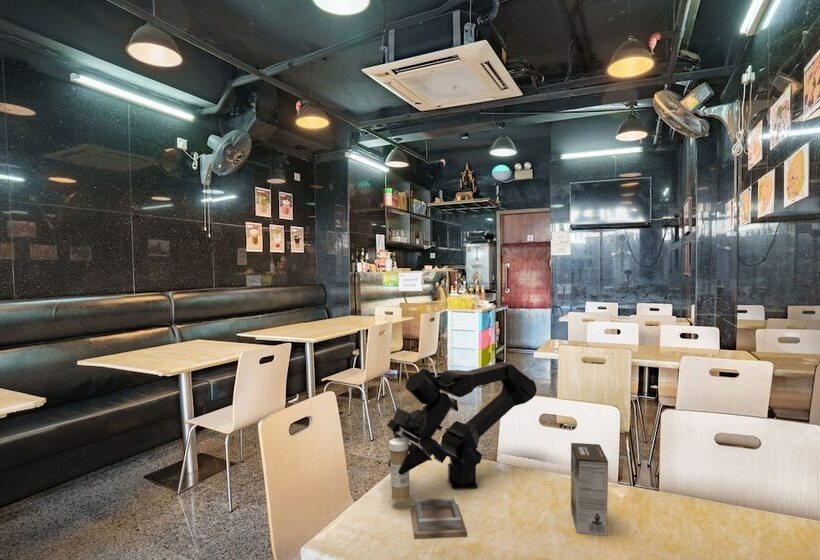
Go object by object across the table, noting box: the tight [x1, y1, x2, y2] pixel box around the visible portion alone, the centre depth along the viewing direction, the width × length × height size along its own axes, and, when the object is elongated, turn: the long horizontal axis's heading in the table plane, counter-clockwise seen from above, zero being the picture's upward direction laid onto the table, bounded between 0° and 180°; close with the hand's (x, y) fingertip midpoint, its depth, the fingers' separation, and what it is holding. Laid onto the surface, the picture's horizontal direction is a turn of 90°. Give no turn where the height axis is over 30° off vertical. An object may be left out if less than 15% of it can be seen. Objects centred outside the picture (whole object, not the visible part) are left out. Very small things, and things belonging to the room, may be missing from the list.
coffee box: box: [570, 442, 609, 537], centre depth 97 cm, size 9×6×16 cm
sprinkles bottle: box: [388, 438, 411, 503], centre depth 104 cm, size 5×5×13 cm
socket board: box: [410, 497, 468, 540], centre depth 97 cm, size 11×11×3 cm
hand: (394, 470), depth 104 cm, fingers closed on sprinkles bottle, 4 cm apart
